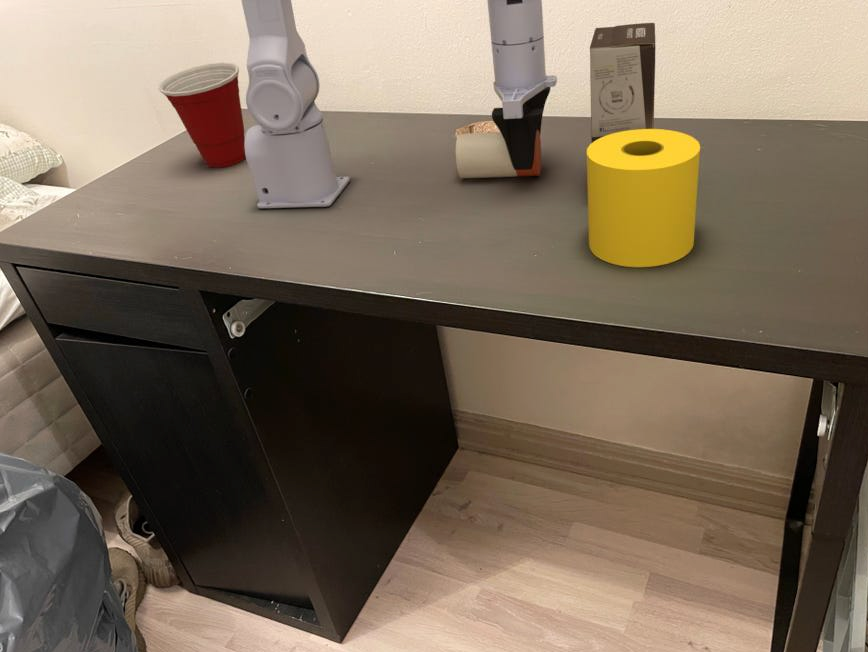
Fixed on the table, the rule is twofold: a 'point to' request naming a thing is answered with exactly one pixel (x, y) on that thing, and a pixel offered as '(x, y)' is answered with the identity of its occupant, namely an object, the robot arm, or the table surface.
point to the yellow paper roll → (642, 196)
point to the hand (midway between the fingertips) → (526, 159)
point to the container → (490, 156)
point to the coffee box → (622, 79)
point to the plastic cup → (210, 110)
